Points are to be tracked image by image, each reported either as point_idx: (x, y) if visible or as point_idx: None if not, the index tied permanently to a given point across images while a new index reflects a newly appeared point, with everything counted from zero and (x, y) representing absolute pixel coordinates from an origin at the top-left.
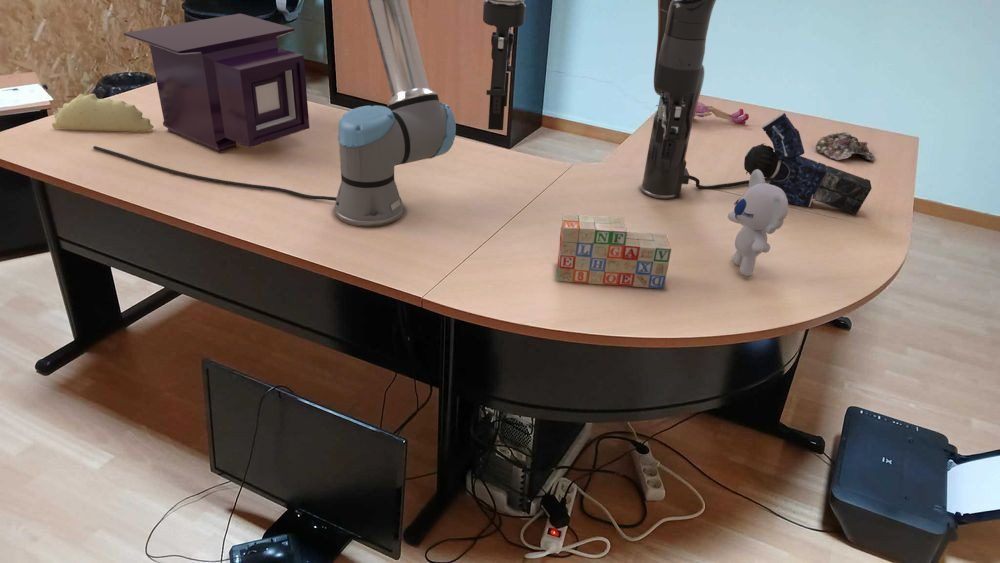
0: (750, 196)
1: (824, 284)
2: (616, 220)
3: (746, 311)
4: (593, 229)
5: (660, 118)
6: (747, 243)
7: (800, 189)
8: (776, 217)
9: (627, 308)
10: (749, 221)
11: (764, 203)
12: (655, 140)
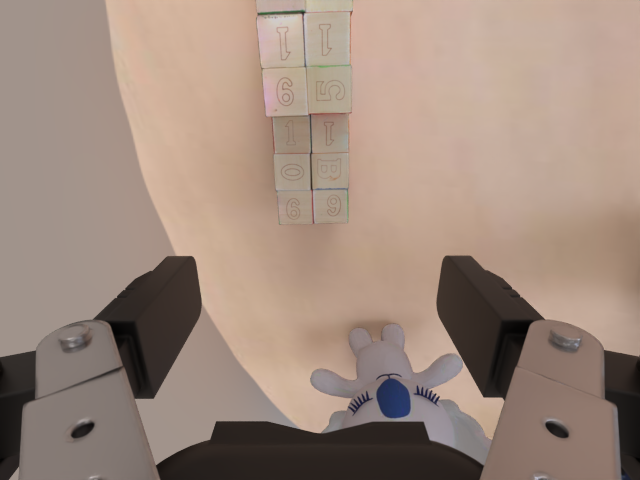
0: None
1: None
2: (329, 88)
3: (252, 314)
4: (257, 7)
5: (518, 362)
6: (360, 364)
7: (622, 473)
8: None
9: (209, 126)
10: (358, 396)
11: None
12: (447, 256)
